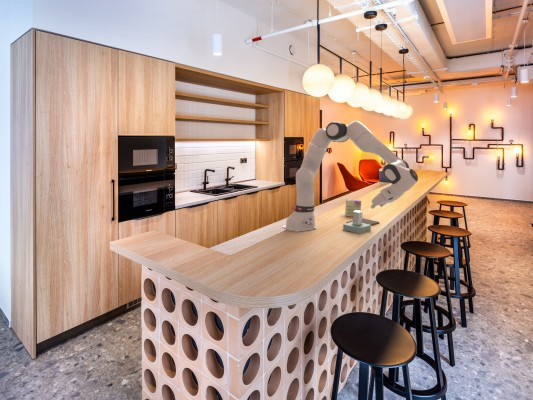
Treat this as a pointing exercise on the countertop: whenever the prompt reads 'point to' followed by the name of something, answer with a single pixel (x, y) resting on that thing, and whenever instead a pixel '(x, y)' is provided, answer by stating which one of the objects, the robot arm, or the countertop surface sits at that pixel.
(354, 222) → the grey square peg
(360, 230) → the block
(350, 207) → the box
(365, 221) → the mat
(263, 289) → the countertop surface
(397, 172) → the robot arm
